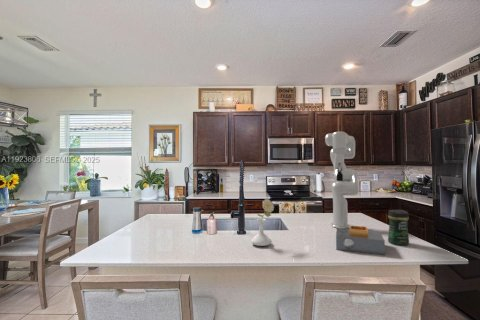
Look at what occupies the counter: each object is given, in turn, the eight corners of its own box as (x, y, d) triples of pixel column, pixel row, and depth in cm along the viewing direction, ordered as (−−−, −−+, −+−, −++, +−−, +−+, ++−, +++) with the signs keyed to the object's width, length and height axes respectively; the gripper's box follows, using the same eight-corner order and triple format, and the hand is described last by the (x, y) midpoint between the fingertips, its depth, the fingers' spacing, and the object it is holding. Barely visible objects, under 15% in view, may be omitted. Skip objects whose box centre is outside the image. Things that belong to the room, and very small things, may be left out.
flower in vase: (254, 248, 134) (254, 201, 134) (248, 242, 145) (248, 198, 145) (277, 246, 137) (277, 199, 137) (269, 240, 148) (269, 197, 148)
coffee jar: (394, 245, 137) (394, 211, 137) (385, 241, 145) (385, 208, 145) (412, 245, 137) (411, 211, 138) (402, 241, 145) (401, 208, 146)
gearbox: (336, 239, 148) (336, 222, 148) (379, 244, 140) (379, 225, 140) (336, 250, 131) (336, 230, 131) (385, 255, 123) (384, 234, 123)
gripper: (333, 152, 164) (333, 179, 164) (332, 151, 148) (332, 181, 148) (345, 152, 162) (346, 179, 161) (346, 151, 145) (346, 181, 145)
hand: (339, 180), depth 155 cm, fingers open, 9 cm apart
